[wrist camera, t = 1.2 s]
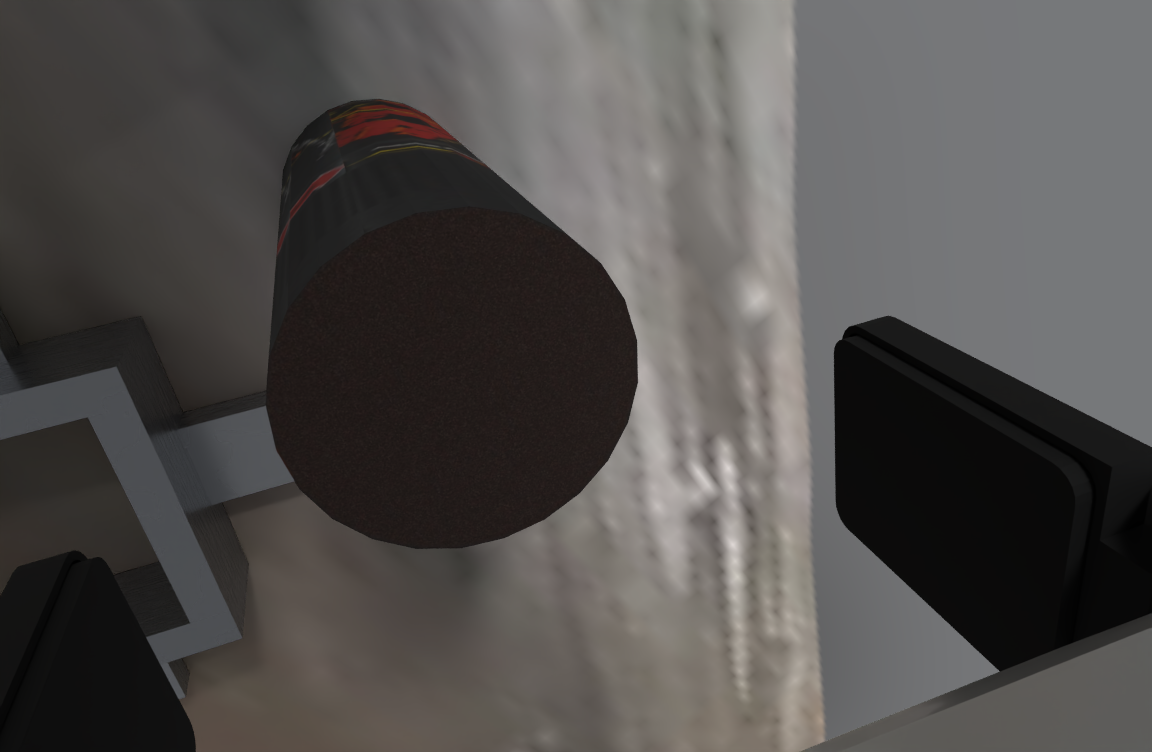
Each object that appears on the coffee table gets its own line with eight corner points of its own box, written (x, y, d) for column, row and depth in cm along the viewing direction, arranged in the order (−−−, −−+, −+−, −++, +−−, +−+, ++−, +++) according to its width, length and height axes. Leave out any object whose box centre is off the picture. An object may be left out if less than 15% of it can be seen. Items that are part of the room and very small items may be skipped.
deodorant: (246, 230, 25) (193, 475, 12) (339, 58, 24) (391, 125, 11) (414, 315, 28) (518, 590, 15) (505, 165, 27) (704, 320, 14)
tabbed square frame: (-506, 311, 20) (-669, 374, 17) (229, 160, 24) (218, 187, 21) (-119, 774, 29) (-176, 881, 25) (384, 609, 32) (395, 682, 29)
